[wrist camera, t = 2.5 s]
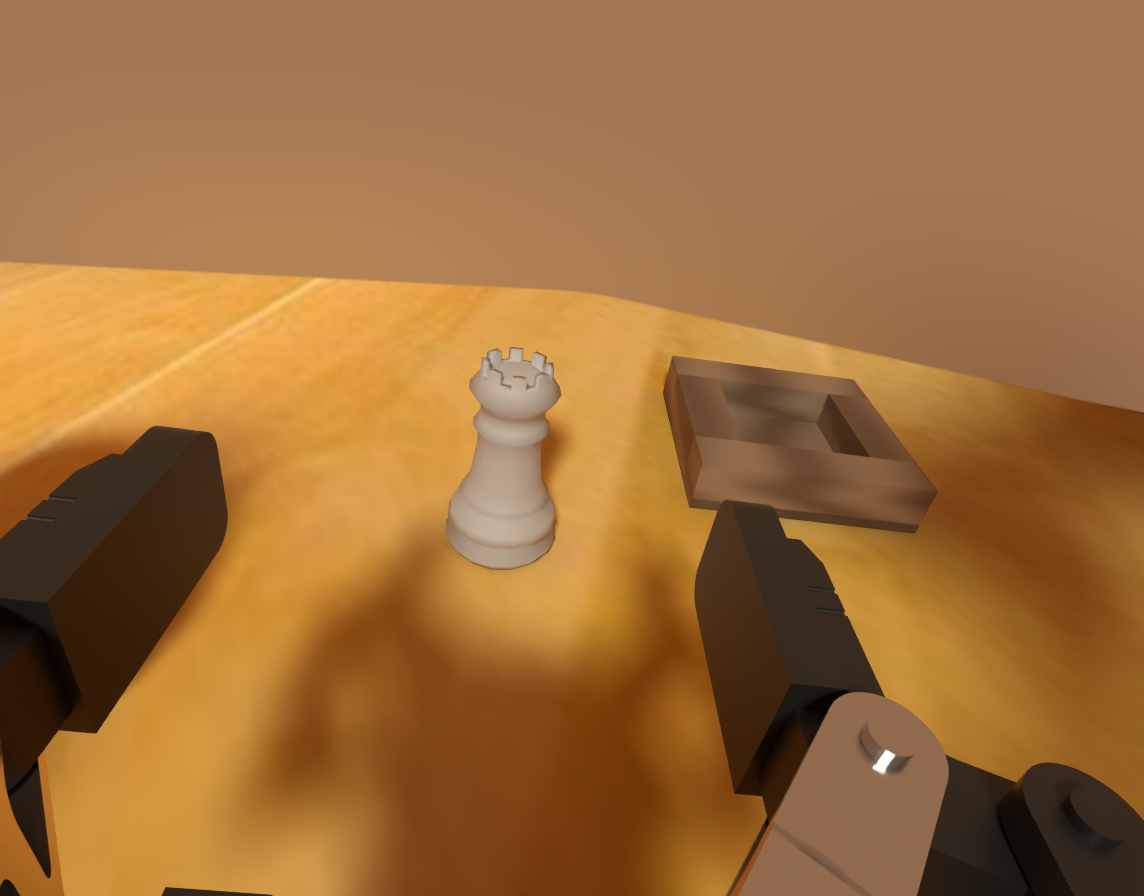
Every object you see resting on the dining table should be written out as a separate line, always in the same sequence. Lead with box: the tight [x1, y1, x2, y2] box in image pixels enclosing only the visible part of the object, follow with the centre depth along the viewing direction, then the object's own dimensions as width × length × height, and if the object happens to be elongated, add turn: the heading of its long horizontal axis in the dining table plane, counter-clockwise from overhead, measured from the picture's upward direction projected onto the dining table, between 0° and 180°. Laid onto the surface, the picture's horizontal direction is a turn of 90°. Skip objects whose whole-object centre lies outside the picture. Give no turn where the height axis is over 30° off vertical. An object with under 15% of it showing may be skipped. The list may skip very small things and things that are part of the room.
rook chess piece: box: [445, 347, 561, 570], centre depth 25 cm, size 4×4×8 cm
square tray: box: [663, 356, 938, 533], centre depth 35 cm, size 11×11×2 cm
